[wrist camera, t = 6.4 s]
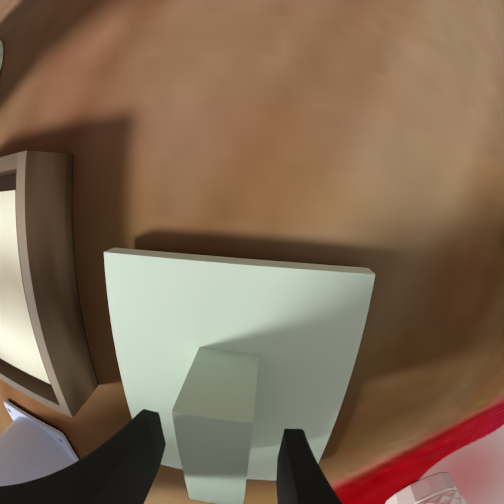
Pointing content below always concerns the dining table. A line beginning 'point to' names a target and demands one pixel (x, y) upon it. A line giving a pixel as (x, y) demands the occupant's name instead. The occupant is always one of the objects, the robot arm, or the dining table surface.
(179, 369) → the lid
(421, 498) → the white cup
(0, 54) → the coffee can
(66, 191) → the box
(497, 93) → the dining table surface
